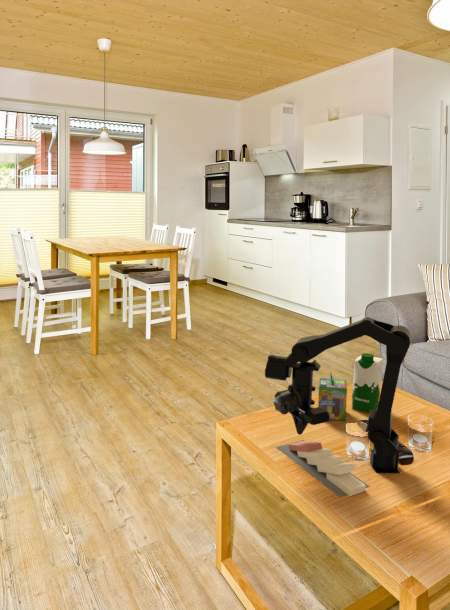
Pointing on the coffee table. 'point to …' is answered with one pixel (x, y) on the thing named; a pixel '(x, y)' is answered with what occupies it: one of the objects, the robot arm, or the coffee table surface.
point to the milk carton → (366, 382)
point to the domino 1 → (305, 446)
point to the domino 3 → (326, 461)
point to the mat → (313, 469)
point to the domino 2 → (315, 454)
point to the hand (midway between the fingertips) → (299, 433)
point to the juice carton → (333, 397)
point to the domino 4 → (337, 468)
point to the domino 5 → (346, 483)
